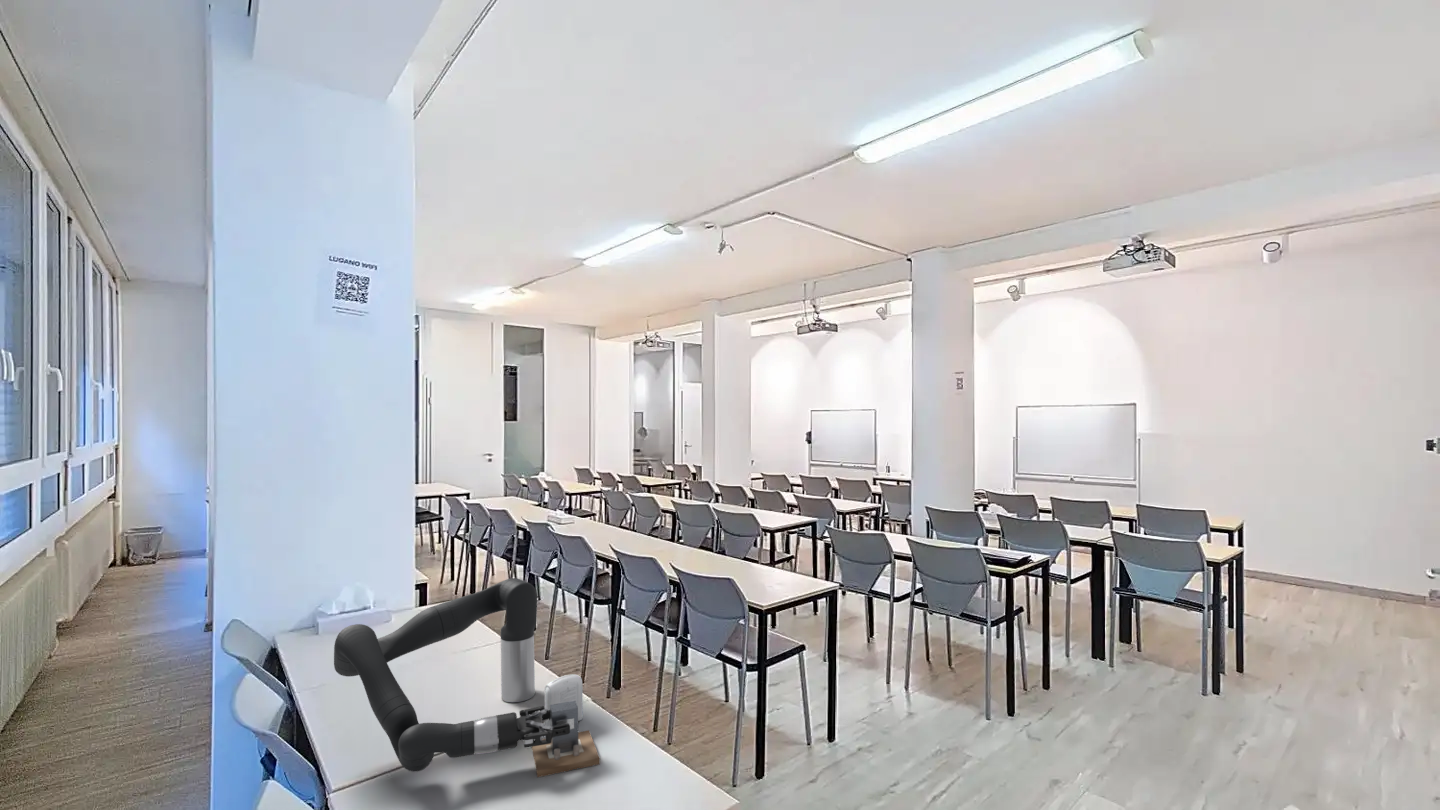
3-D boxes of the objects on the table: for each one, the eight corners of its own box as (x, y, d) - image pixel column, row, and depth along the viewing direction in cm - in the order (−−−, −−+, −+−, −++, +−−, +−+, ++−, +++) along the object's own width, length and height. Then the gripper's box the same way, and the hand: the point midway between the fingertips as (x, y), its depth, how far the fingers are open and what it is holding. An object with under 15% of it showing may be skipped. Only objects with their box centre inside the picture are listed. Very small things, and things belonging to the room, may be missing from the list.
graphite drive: (550, 746, 158) (550, 705, 158) (575, 741, 160) (575, 700, 160) (552, 755, 154) (552, 712, 154) (578, 749, 156) (578, 707, 156)
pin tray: (531, 747, 161) (531, 732, 161) (589, 736, 166) (588, 722, 166) (537, 777, 148) (537, 761, 148) (599, 764, 153) (599, 749, 153)
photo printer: (576, 714, 178) (576, 668, 178) (585, 719, 175) (584, 673, 175) (542, 727, 171) (541, 680, 171) (550, 733, 167) (549, 685, 167)
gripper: (494, 734, 158) (563, 722, 164) (497, 765, 145) (571, 750, 150) (493, 703, 158) (562, 692, 164) (496, 731, 145) (571, 717, 150)
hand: (567, 720), depth 157 cm, fingers open, 8 cm apart
